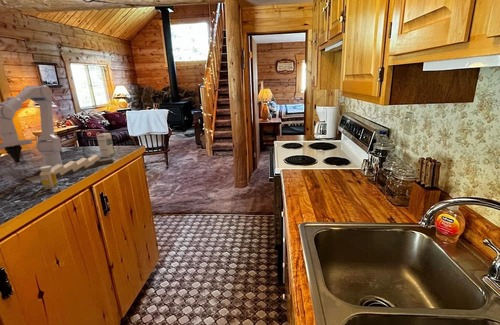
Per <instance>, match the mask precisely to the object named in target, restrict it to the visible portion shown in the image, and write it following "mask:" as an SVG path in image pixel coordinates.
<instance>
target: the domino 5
mask: <svg viewBox="0 0 500 325" xmlns="http://www.w3.org/2000/svg"><path fill="white" fill-rule="evenodd" d="M112 163H114V160H113V158H112V156H111V157H104V158H100V159H99V160H97V161H96V162H95V163H94V164H95V166H94V167H97V166H103V165H107V164H112Z"/></svg>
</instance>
